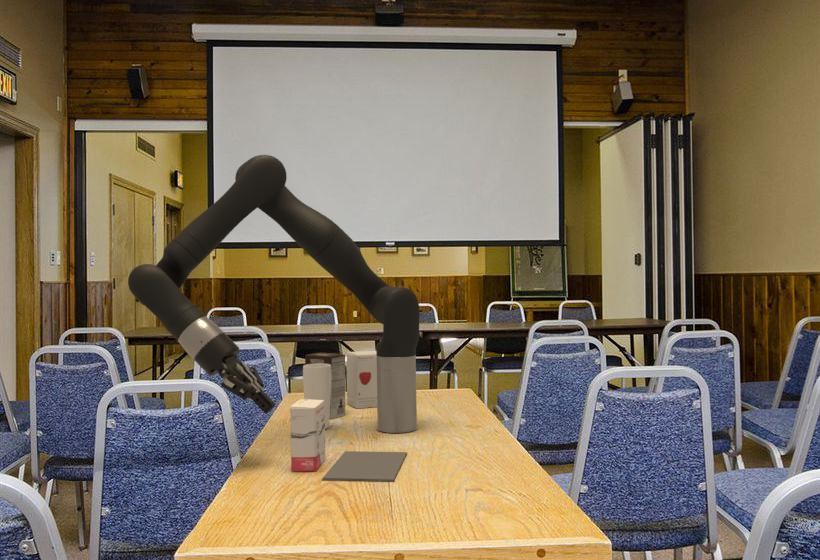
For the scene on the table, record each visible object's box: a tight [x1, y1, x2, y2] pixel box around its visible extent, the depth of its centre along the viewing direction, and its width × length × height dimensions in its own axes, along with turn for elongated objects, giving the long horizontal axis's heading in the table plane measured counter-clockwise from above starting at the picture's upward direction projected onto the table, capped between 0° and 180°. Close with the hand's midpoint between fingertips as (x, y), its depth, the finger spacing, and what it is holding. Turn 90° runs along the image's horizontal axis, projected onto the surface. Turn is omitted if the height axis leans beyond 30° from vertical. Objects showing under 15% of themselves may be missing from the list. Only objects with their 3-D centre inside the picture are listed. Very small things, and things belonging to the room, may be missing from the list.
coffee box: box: [304, 352, 346, 420], centre depth 167 cm, size 9×6×16 cm
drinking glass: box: [302, 364, 332, 430], centre depth 152 cm, size 7×7×15 cm
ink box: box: [289, 398, 326, 472], centre depth 120 cm, size 9×5×12 cm, turn 175°
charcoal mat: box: [321, 450, 408, 483], centre depth 119 cm, size 18×12×1 cm
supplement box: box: [346, 350, 377, 409], centre depth 181 cm, size 9×9×15 cm
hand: (271, 409), depth 121 cm, fingers closed
